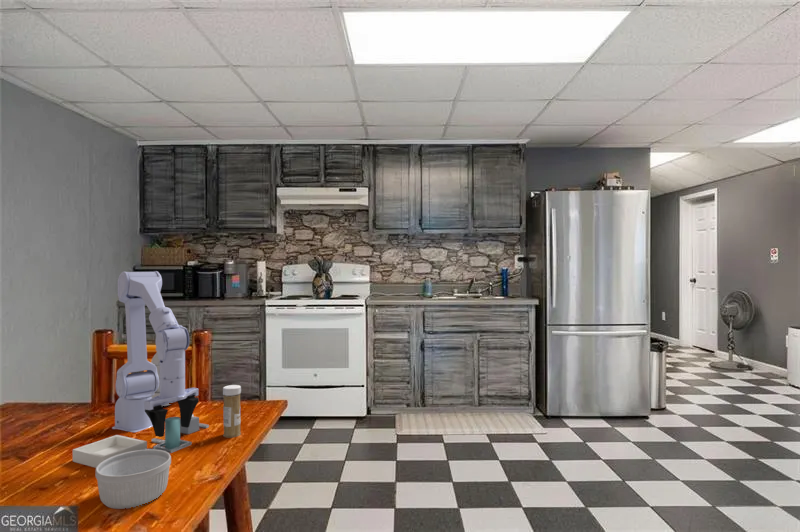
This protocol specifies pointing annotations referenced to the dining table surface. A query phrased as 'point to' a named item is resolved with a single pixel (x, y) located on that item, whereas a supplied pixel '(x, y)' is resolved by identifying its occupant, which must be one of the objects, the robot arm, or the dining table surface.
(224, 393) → the sprinkles bottle
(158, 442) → the rail
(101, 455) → the tray
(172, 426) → the pin
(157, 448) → the block
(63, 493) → the dining table surface
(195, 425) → the carriage
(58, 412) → the dining table surface
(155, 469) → the ramekin
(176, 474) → the dining table surface
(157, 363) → the plastic bottle
